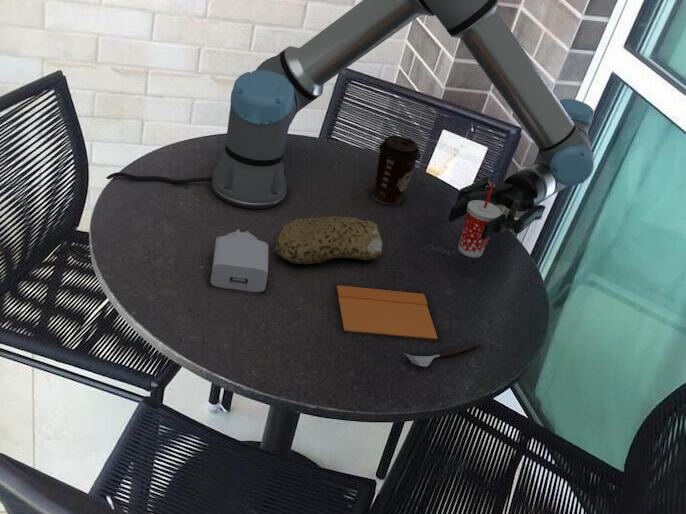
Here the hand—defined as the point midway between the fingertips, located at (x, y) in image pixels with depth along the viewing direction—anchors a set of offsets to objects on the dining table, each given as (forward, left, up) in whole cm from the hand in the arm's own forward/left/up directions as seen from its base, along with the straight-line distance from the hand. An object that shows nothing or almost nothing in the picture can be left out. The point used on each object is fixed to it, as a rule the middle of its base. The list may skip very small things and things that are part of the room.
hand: (468, 223), depth 142 cm
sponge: (-23, +6, -14) cm, 27 cm away
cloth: (-13, -10, -13) cm, 22 cm away
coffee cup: (-6, +31, -14) cm, 34 cm away
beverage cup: (+4, +4, -8) cm, 9 cm away
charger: (-39, 0, -14) cm, 41 cm away
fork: (-5, -21, -14) cm, 25 cm away
